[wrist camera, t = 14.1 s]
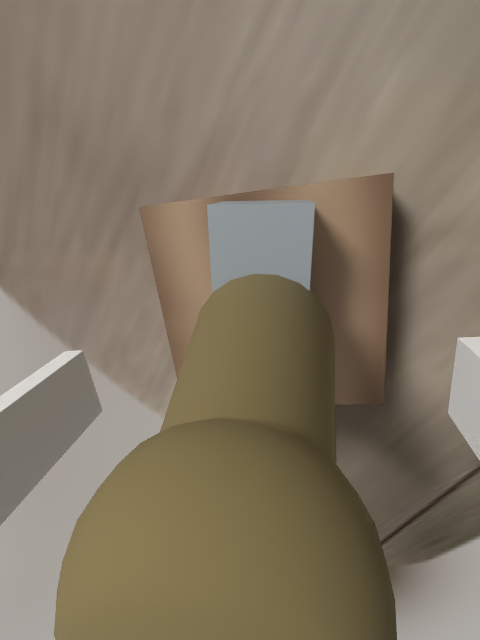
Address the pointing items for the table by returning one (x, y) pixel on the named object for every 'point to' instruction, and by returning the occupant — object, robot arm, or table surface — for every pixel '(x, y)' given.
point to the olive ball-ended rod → (234, 496)
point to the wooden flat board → (326, 271)
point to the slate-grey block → (261, 239)
